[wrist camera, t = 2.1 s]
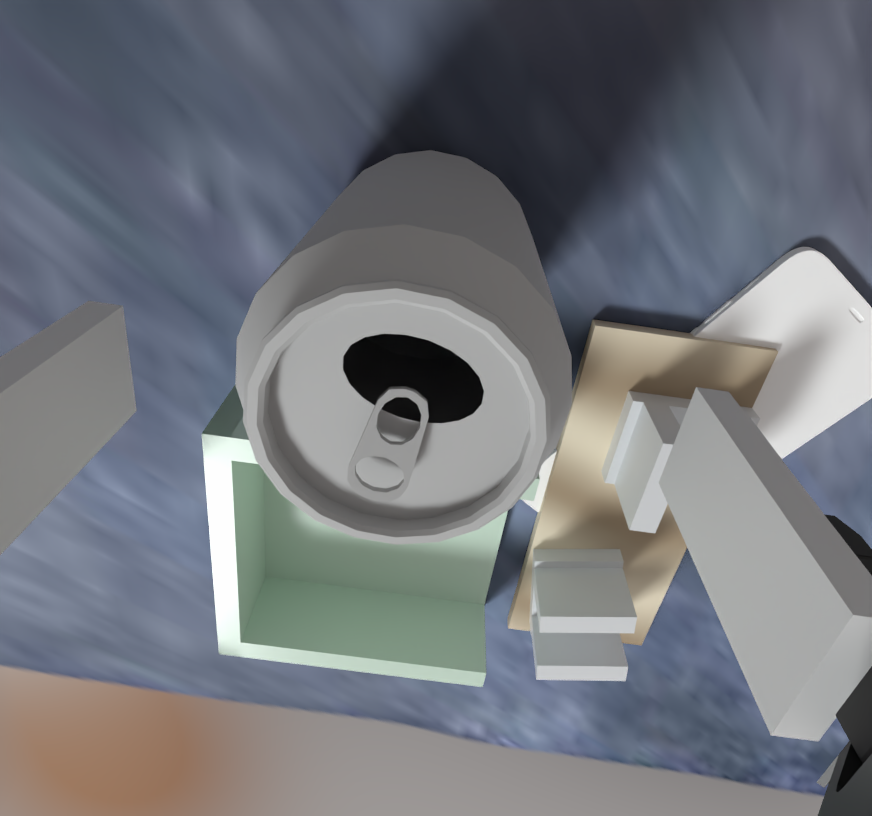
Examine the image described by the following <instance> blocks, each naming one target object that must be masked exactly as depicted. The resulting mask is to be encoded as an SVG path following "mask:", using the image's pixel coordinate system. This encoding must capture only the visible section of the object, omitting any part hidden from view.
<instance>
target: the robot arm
mask: <svg viewBox="0 0 872 816" xmlns="http://www.w3.org/2000/svg"><path fill="white" fill-rule="evenodd" d="M135 412H136V403H135V395H134V388H133V380H132V372H131V365H130V357H129V349H128V341H127V334H126V326H125V318H124V311H123V306H121V305H114V304H107V303H100V302H93V301H88V302H86V303H85V304H83V305H81V306H80V307H78V308H77V309H75V310H74V311H72V312H70V313H69V314H67V315H66V316H64V317H63V318H61V319H59V320H58V321H56V322H55V323H53V324H52V325H50V326H48V327H47V328H45V329H44V330H42V331H41V332H39V333H38V334H36V335H34V336H33V337H31V338H30V339H28V340H27V341H25V342H23V343H22V344H20V345H19V346H17V347H16V348H14V349H12V350H11V351H9V352H8V353H6V354H5V355H3V356H1V357H0V555H1V554H2V553H3V552H4V551H5V550H6V549H7V548H8V547H9V546H10V544H11V543H12V542H13V541H14V540H15V539H16V538H17V537H18V536H19V535H20V534H21V533H22V532H23V531H24V530H25V529H26V527H27V526H28V525H29V524H30V523H31V522H32V521H33V520H34V519H35V518H36V517H37V516H38V515H39V514H40V513H41V512H42V511H43V509H44V508H45V507H46V506H47V505H48V504H49V503H50V502H51V501H52V500H53V499H54V498H55V497H56V496H57V495H58V494H59V493H60V491H61V490H62V489H63V488H64V487H65V486H66V485H67V484H68V483H69V482H70V481H71V480H72V479H73V478H74V477H75V476H76V475H77V473H78V472H79V471H80V470H81V469H82V468H83V467H84V466H85V465H86V464H87V463H88V462H89V461H90V460H91V459H92V458H93V457H94V455H95V454H96V453H97V452H98V451H99V450H100V449H101V448H102V447H103V446H104V445H105V444H106V443H107V442H108V441H109V440H110V438H111V437H112V436H113V435H114V434H115V433H116V432H117V431H118V430H119V429H120V428H121V427H122V426H123V425H124V424H125V423H126V422H127V420H128V419H129V418H130V417H131V416H132V415H133V414H134V413H135ZM659 485H660V487H661V489H662V492H663V494H664V496H665V498H666V501H667V503H668V505H669V507H670V510H671V512H672V514H673V516H674V519H675V521H676V523H677V525H678V528H679V530H680V532H681V534H682V537H683V539H684V541H685V543H686V546H687V548H688V550H689V552H690V555H691V557H692V559H693V561H694V563H695V566H696V568H697V570H698V572H699V575H700V577H701V579H702V581H703V584H704V586H705V588H706V590H707V593H708V595H709V597H710V599H711V602H712V604H713V606H714V608H715V611H716V613H717V615H718V617H719V620H720V622H721V624H722V626H723V629H724V631H725V633H726V635H727V638H728V640H729V642H730V644H731V647H732V649H733V651H734V653H735V656H736V658H737V660H738V662H739V665H740V667H741V669H742V671H743V674H744V676H745V678H746V680H747V682H748V685H749V687H750V689H751V691H752V694H753V696H754V698H755V700H756V703H757V705H758V707H759V709H760V712H761V714H762V716H763V718H764V721H765V723H766V725H767V727H768V730H769V732H770V734H771V735H772V736H780V737H788V738H796V739H804V740H811V741H819V740H820V738H821V737H822V736H823V734H824V733H825V732H826V730H827V729H828V728H829V726H830V725H831V724H832V722H833V721H834V720H835V719H836V717H837V719H838V720H839V722H840V724H841V726H842V728H843V729H844V731H845V733H846V735H847V737H848V738H849V740H850V741H849V742H848V744H847V745H846V746H845V747H844V749H843V750H842V751H841V752H840V754H839V755H838V756H837V757H836V759H835V760H834V761H833V762H832V764H831V765H830V766H829V767H828V769H827V770H826V771H825V773H824V774H823V775H822V776H821V778H820V779H819V780H818V781H817V783H818V784H820V785H821V786H822V787H825V786H826V785H827V784H828V783H829V785H828V787H827V790H826V793H825V796H824V799H823V802H822V805H821V808H820V811H819V814H818V816H872V549H871V548H870V547H869V546H868V544H867V543H866V542H865V541H864V539H863V538H862V537H861V536H860V535H859V534H857V533H856V532H855V531H854V530H852V529H851V528H850V527H848V526H847V525H846V524H844V523H843V522H842V521H841V520H839V519H838V518H837V517H835V516H831V515H824V514H823V512H822V511H821V510H820V508H819V507H818V506H817V505H816V503H815V502H814V501H813V499H812V498H811V497H810V496H809V494H808V493H807V492H806V490H805V489H804V488H803V487H802V485H801V484H800V483H799V481H798V480H797V479H796V478H795V476H794V475H793V474H792V472H791V471H790V470H789V469H788V467H787V466H786V465H785V463H784V462H783V461H782V460H781V458H780V457H779V456H778V454H777V453H776V452H775V451H774V449H773V448H772V447H771V445H770V444H769V443H768V442H767V440H766V439H765V438H764V436H763V435H762V434H761V433H760V431H759V430H758V429H757V427H756V426H755V425H754V424H753V422H752V421H751V420H750V418H749V417H748V416H747V415H746V413H745V412H744V411H743V409H742V408H741V407H740V406H739V404H738V403H737V402H736V400H735V399H734V398H733V397H732V395H731V394H730V393H729V392H727V391H720V390H713V389H706V388H699V387H696V389H695V391H694V394H693V396H692V399H691V401H690V404H689V406H688V409H687V411H686V414H685V417H684V419H683V422H682V424H681V427H680V429H679V432H678V434H677V437H676V440H675V442H674V445H673V447H672V450H671V452H670V455H669V457H668V460H667V462H666V465H665V468H664V470H663V473H662V475H661V478H660V480H659Z"/></svg>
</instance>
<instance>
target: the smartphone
mask: <svg viewBox="0 0 872 816" xmlns="http://www.w3.org/2000/svg"><path fill="white" fill-rule="evenodd" d="M690 334H693V336H694V337H699V338H706V339H713V340H719V341H726V342H733V343H740V344H747V345H754V346H760V347H767V348H774V349H776V350H777V351H778V354H777V356H776V358H775V360H774V362H773V364H772V367H771V369H770V371H769V373H768V375H767V377H766V379H765V382H764V384H763V386H762V388H761V390H760V392H759V394H758V397H757V399H756V401H755V403H754V405H753V407H752V408H753V410H754V411H755V412H756V414H757V415H758V416H759V417H760V421H759V423H758V425H757V427H758V428H759V430H760V431H761V432H762V434H763V435H764V436H765V438H766V439H767V440H768V442H769V443H770V444H771V446H772V447H773V448H774V450H775V451H776V452H777V453H778V455H779V456H780V457H781V459H782V458H784V457H785V456H787V455H788V454H790V453H791V452H793V451H794V450H796V449H797V448H799V447H800V446H802V445H803V444H805V443H806V442H808V441H809V440H810V439H812V438H813V437H815V436H816V435H818V434H819V433H821V432H822V431H824V430H825V429H827V428H828V427H830V426H831V425H833V424H834V423H836V422H837V421H839V420H840V419H841V418H843V417H844V416H846V415H847V414H849V413H850V412H852V411H853V410H855V409H856V408H858V407H859V406H861V405H862V404H864V403H865V402H867V401H868V400H870V399H871V398H872V307H871V306H870V305H869V304H868V303H867V302H866V300H865V299H864V298H863V297H862V296H861V295H860V294H859V293H858V291H857V290H856V289H855V288H854V287H853V286H852V285H851V283H850V282H849V281H848V280H847V279H846V278H845V277H844V276H843V274H842V273H841V272H840V271H839V270H838V269H837V268H836V267H835V265H834V264H833V263H832V262H831V261H830V260H829V259H828V258H827V257H826V256H825V255H823V254H822V253H820V252H819V251H817V250H815V249H813V248H811V247H799V248H796V249H793V250H791V251H789V252H788V253H786V254H785V255H783V256H782V257H781V258H779V259H778V260H777V261H776V262H774V263H773V264H772V265H771V266H770V267H769V268H767V269H766V270H765V271H764V272H763V273H761V274H760V275H759V276H758V277H757V278H755V279H754V280H753V281H752V282H751V283H749V284H748V285H747V286H746V287H745V288H744V289H743V290H741V291H740V292H739V293H738V294H737V295H735V296H734V297H733V298H732V299H730V300H728V301H727V302H726V303H725V304H723V305H722V306H721V307H720V308H719V309H717V310H716V311H715V312H714V313H713V314H711V315H710V316H709V317H708V318H707V319H705V320H704V322H703V323H702V324H701V325H700V326H699V327H698V328H697V327H696V328H695V329H694V330H692V331H691V332H690ZM556 452H557V450H556V449H555V450H553V452H552V453H551V454H550V455H549V457H548V458H547V459H546V460H545V462H544V463H543V464H542V466H541V469H540V471H539V477H540V481H539V484H538V488H537V492H536V495H535V499H534V501H530V500H523V501H524V502H525V503H527V504H528V505H529V506H531V507H532V508H533V509H535V510H536V511H537V512H539V511H540V507H541V504H542V500H543V497H544V493H545V490H546V487H547V483H548V480H549V476H550V473H551V469H552V466H553V462H554V459H555V455H556Z"/></svg>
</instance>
